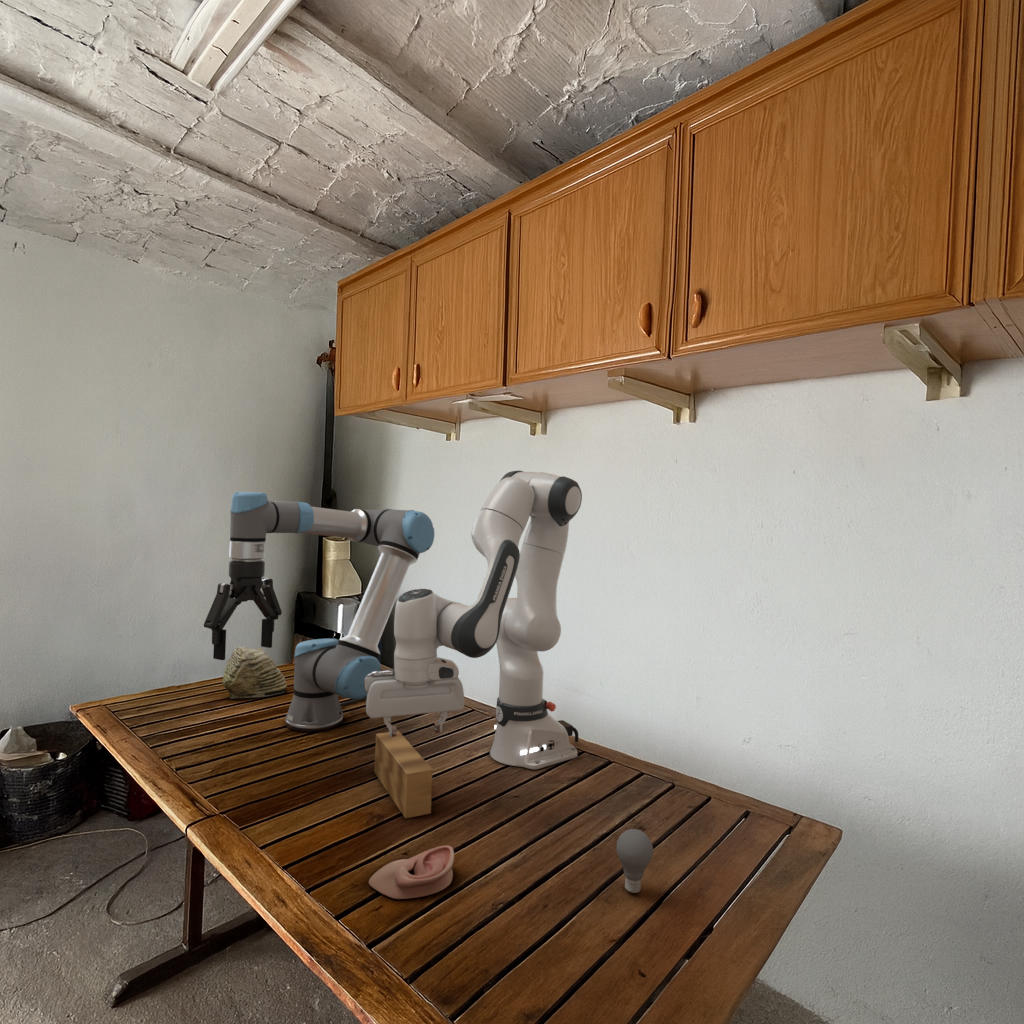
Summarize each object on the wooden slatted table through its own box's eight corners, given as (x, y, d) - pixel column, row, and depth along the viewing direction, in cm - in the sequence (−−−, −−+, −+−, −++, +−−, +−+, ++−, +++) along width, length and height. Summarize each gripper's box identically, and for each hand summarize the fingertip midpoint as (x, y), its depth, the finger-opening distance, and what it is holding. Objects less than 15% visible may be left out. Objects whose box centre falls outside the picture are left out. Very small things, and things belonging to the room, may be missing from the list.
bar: (374, 772, 147) (375, 733, 146) (397, 768, 149) (398, 730, 149) (405, 818, 126) (407, 773, 126) (430, 813, 129) (432, 769, 129)
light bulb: (610, 879, 108) (613, 822, 108) (644, 879, 109) (647, 822, 109) (619, 902, 102) (622, 840, 102) (655, 901, 103) (658, 840, 103)
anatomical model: (361, 868, 102) (389, 832, 113) (360, 893, 102) (388, 854, 113) (440, 882, 99) (460, 843, 110) (439, 907, 99) (459, 866, 110)
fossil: (218, 695, 195) (220, 647, 195) (278, 685, 208) (279, 640, 207) (228, 703, 189) (230, 653, 188) (289, 692, 201) (290, 645, 201)
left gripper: (213, 565, 131) (209, 667, 131) (299, 557, 154) (295, 644, 154) (187, 562, 134) (184, 662, 134) (275, 555, 157) (272, 640, 157)
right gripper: (364, 676, 126) (365, 744, 126) (466, 669, 131) (465, 735, 132) (363, 667, 132) (364, 732, 132) (460, 661, 137) (460, 724, 138)
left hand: (243, 652), depth 144 cm, fingers open, 13 cm apart
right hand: (415, 733), depth 132 cm, fingers open, 8 cm apart
